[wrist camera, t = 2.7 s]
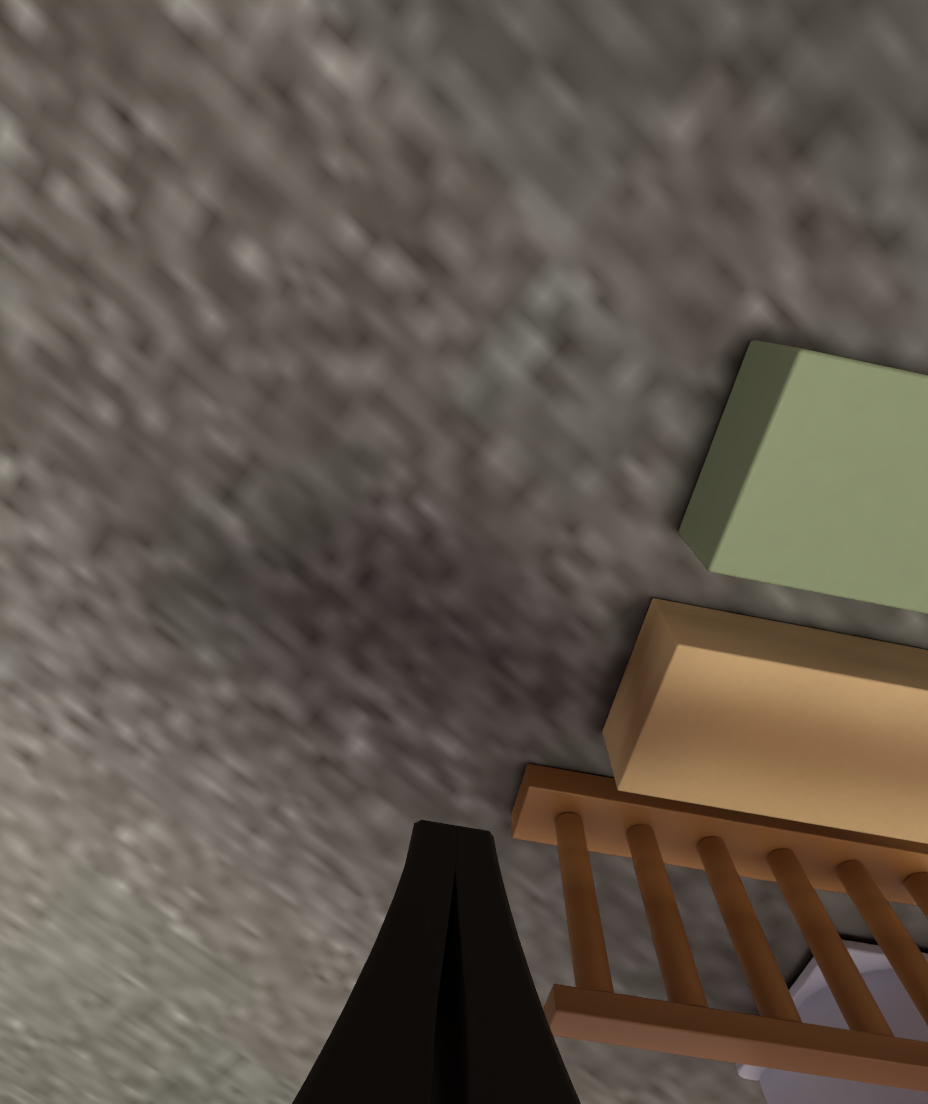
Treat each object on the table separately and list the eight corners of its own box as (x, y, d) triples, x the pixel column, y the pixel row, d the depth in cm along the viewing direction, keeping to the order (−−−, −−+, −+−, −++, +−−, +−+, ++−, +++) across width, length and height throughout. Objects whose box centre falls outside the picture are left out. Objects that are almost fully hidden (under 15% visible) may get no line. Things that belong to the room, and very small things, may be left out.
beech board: (1012, 804, 19) (1080, 871, 17) (601, 731, 18) (616, 791, 16) (1111, 684, 17) (1203, 742, 15) (652, 596, 16) (677, 644, 14)
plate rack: (1048, 904, 21) (1285, 1163, 15) (510, 813, 20) (521, 1048, 14) (1090, 860, 20) (1363, 1117, 14) (527, 762, 19) (546, 991, 13)
